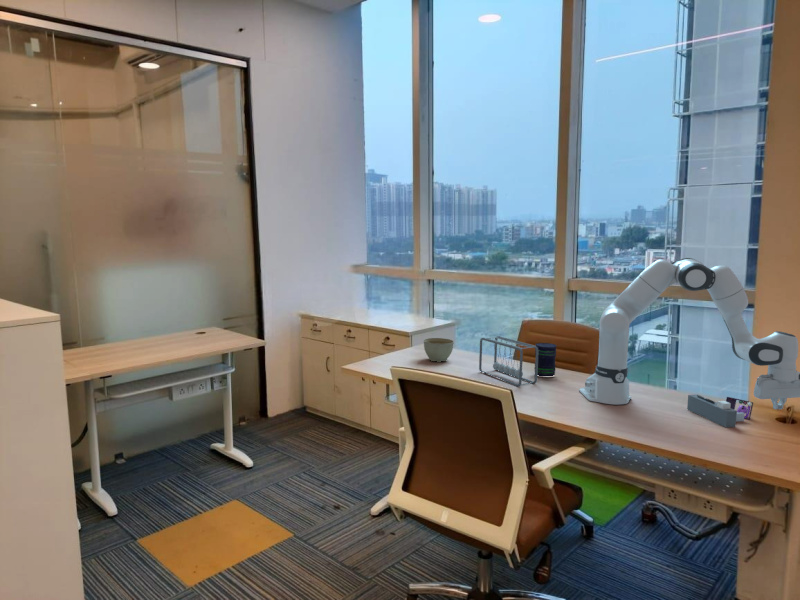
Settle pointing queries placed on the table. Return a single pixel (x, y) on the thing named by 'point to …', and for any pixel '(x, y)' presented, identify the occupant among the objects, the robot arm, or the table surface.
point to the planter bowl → (438, 348)
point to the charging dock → (714, 410)
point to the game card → (742, 407)
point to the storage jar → (546, 359)
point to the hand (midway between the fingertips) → (777, 408)
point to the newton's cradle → (501, 366)
